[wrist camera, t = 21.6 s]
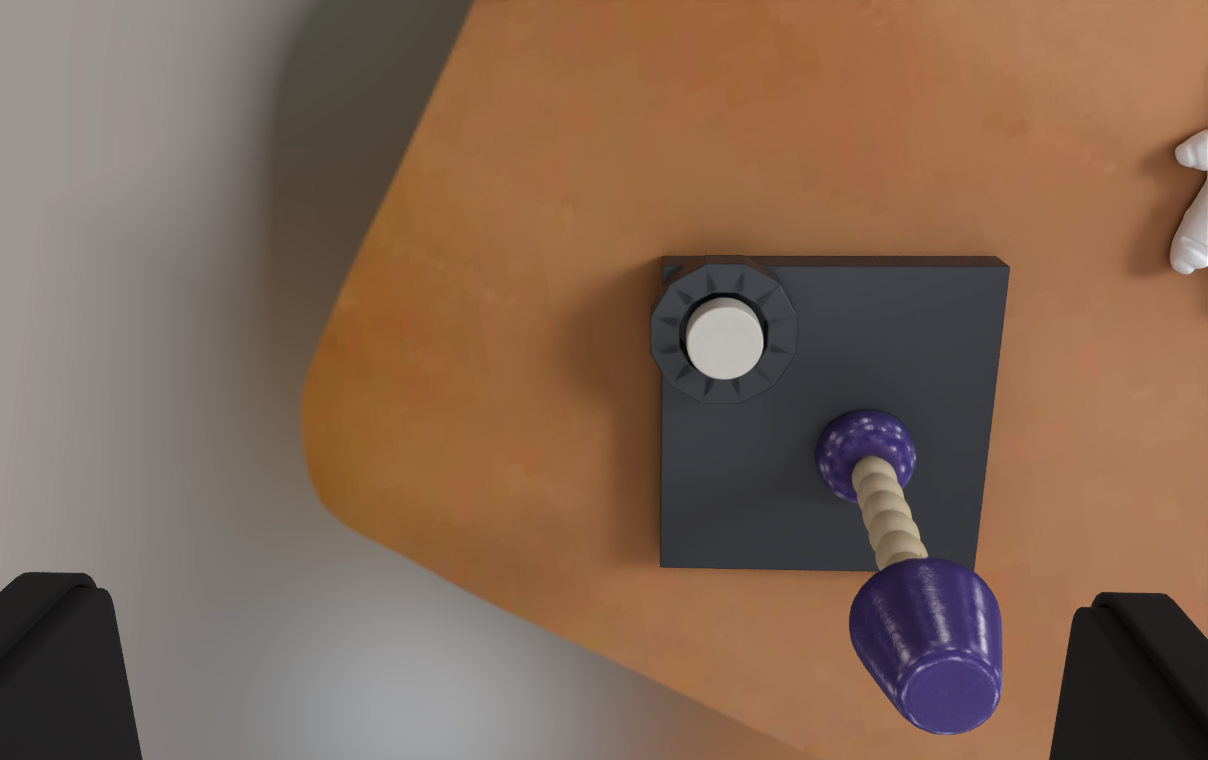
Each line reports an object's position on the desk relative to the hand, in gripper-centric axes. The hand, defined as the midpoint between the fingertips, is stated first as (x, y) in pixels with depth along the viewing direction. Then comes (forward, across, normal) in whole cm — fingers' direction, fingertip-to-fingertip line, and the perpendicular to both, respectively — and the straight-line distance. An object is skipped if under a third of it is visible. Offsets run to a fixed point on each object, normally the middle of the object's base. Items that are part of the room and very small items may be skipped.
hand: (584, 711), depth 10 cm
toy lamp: (+34, -10, +12) cm, 37 cm away
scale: (+35, -8, +10) cm, 38 cm away
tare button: (+32, -3, +6) cm, 33 cm away
